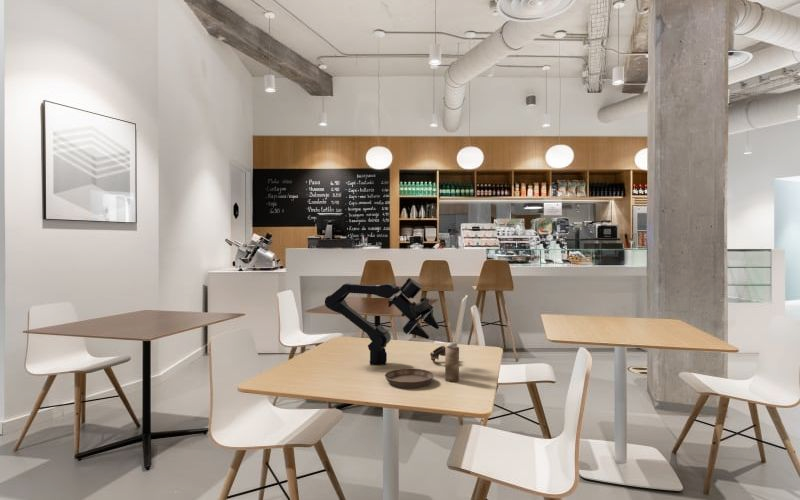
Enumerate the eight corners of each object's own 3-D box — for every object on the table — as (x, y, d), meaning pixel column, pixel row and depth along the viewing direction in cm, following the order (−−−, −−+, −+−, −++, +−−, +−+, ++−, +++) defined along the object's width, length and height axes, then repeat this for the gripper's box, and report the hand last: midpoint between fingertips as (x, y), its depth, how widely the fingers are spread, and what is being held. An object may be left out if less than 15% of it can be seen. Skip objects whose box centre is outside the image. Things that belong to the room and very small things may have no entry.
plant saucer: (391, 391, 162) (391, 382, 162) (379, 377, 179) (379, 369, 179) (440, 388, 167) (440, 379, 167) (424, 374, 184) (424, 366, 184)
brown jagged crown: (451, 368, 195) (441, 350, 195) (434, 375, 200) (424, 358, 200) (462, 355, 205) (452, 338, 205) (445, 362, 210) (435, 345, 210)
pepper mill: (446, 382, 173) (446, 345, 173) (444, 378, 178) (444, 342, 178) (460, 382, 173) (460, 344, 173) (457, 378, 178) (457, 342, 178)
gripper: (404, 302, 184) (434, 331, 181) (426, 286, 200) (453, 311, 197) (390, 320, 190) (419, 348, 187) (412, 302, 206) (439, 328, 203)
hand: (433, 333), depth 193 cm, fingers open, 9 cm apart
